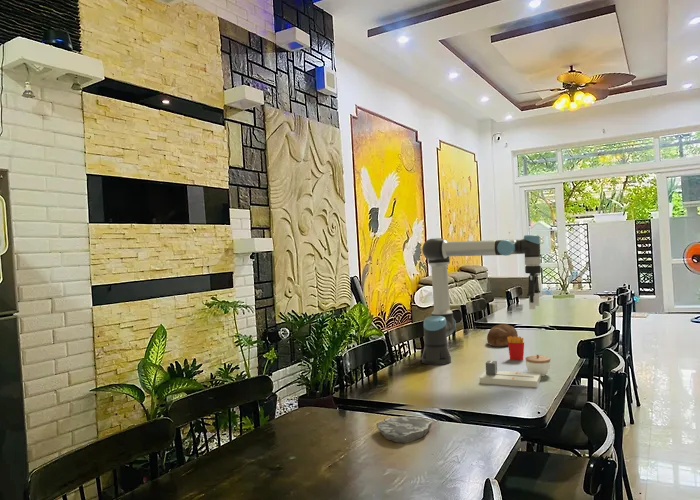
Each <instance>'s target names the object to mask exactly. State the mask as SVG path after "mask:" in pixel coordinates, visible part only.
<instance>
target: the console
mask: <svg viewBox="0 0 700 500" xmlns="http://www.w3.org/2000/svg"><path fill="white" fill-rule="evenodd" d="M541 379H542V377H541V374H540V373H530V372H524V371H523V372H522V371H521V372H519V371H508V370H507V371H505V370H497V373H496V375H490V374H486V370H484V372H483V373H482V374H481V375H480V376H479V384H487V385H496V386H497V385H499V386H500V385H501V386H512V387H528V388H538V387H539V384H540V382H541Z"/></svg>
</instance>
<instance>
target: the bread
mask: <svg viewBox="0 0 700 500" xmlns="http://www.w3.org/2000/svg"><path fill="white" fill-rule="evenodd" d="M510 336H512V337H514V336H515V337H519V336H518V331H517V329H516V328H515V327H514V326H512V325H510V324H509V323H508V324H507V323H501V324H496V325H494V326H492V327H491V328H490V329H489V331H488V332H487V337H486V340H487V344H488V345H489V346H492V347H495V348H496V347H498V348H499V347H508V339H507V337H510Z"/></svg>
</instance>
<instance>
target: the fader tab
mask: <svg viewBox="0 0 700 500" xmlns="http://www.w3.org/2000/svg"><path fill="white" fill-rule="evenodd" d="M485 371H486V374H490V375H496V373H497V371H498V361H497V360H487V361H486V362H485Z"/></svg>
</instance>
